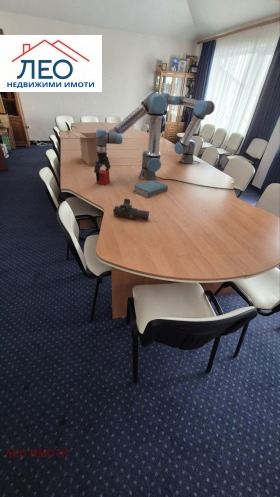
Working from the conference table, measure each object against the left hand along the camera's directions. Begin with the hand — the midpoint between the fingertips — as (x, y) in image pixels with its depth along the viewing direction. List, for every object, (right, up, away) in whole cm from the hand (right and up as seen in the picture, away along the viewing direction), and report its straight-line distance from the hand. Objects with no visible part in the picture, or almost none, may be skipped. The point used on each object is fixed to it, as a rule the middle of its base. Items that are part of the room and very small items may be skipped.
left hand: (102, 178), depth 185 cm
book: (+40, -13, -6) cm, 42 cm away
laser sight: (+25, -39, -44) cm, 64 cm away
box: (-19, +35, +52) cm, 65 cm away
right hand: (+57, +75, +68) cm, 116 cm away
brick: (0, -3, +2) cm, 4 cm away
